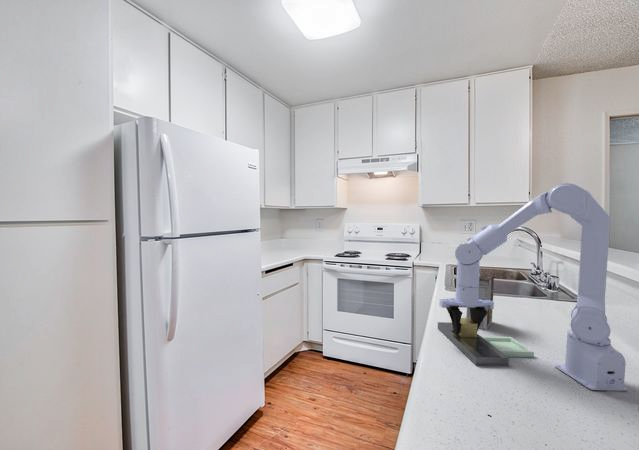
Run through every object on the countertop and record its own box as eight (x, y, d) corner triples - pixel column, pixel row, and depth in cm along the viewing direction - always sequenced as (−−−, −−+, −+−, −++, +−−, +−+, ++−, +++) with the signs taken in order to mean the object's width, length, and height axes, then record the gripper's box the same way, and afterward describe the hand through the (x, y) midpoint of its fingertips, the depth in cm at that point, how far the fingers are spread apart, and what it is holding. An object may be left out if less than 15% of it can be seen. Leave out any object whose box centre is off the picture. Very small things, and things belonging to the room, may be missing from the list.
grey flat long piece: (508, 365, 70) (508, 357, 70) (475, 365, 70) (475, 356, 70) (462, 329, 92) (463, 322, 92) (437, 328, 92) (437, 321, 92)
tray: (533, 357, 75) (534, 352, 75) (498, 356, 75) (499, 351, 74) (510, 341, 84) (510, 336, 84) (479, 341, 84) (479, 336, 83)
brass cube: (476, 345, 81) (477, 323, 81) (460, 344, 81) (461, 323, 81) (468, 338, 85) (469, 318, 85) (453, 338, 85) (454, 317, 85)
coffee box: (471, 317, 103) (473, 272, 102) (492, 322, 99) (495, 275, 98) (465, 324, 96) (467, 276, 95) (487, 330, 92) (490, 279, 91)
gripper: (484, 282, 86) (482, 327, 87) (435, 281, 86) (433, 326, 87) (499, 288, 79) (496, 337, 80) (446, 287, 79) (444, 336, 80)
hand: (464, 332), depth 83 cm, fingers closed on brass cube, 4 cm apart
